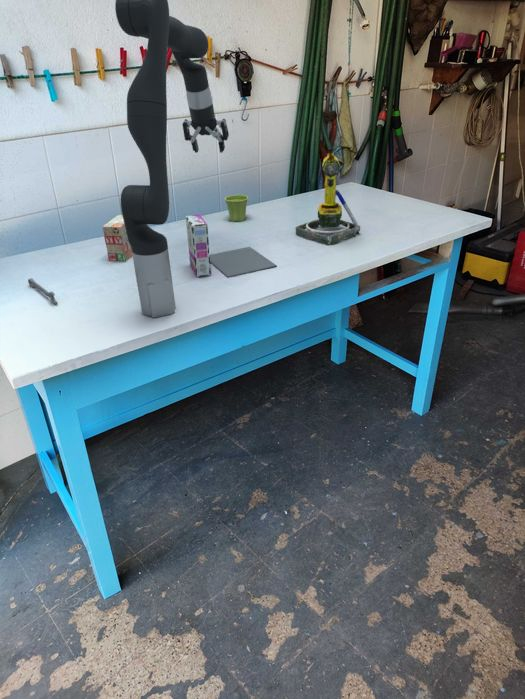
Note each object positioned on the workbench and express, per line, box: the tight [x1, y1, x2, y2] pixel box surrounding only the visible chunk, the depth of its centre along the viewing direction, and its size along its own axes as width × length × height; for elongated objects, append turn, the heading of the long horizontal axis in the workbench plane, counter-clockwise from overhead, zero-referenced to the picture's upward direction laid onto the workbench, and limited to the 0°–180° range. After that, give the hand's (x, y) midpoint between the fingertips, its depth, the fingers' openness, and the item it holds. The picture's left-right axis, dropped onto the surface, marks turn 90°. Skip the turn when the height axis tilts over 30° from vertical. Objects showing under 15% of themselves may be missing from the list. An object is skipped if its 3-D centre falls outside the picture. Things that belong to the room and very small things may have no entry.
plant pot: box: [224, 194, 249, 222], centre depth 208 cm, size 9×9×9 cm
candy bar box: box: [185, 214, 212, 278], centre depth 162 cm, size 11×5×16 cm, turn 17°
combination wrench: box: [27, 277, 59, 306], centre depth 153 cm, size 4×1×20 cm
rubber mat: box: [210, 246, 278, 279], centre depth 171 cm, size 20×17×1 cm
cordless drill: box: [295, 153, 361, 246], centre depth 184 cm, size 18×19×28 cm
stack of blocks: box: [102, 214, 133, 263], centre depth 180 cm, size 21×6×12 cm, turn 169°
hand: (209, 151), depth 173 cm, fingers open, 8 cm apart
